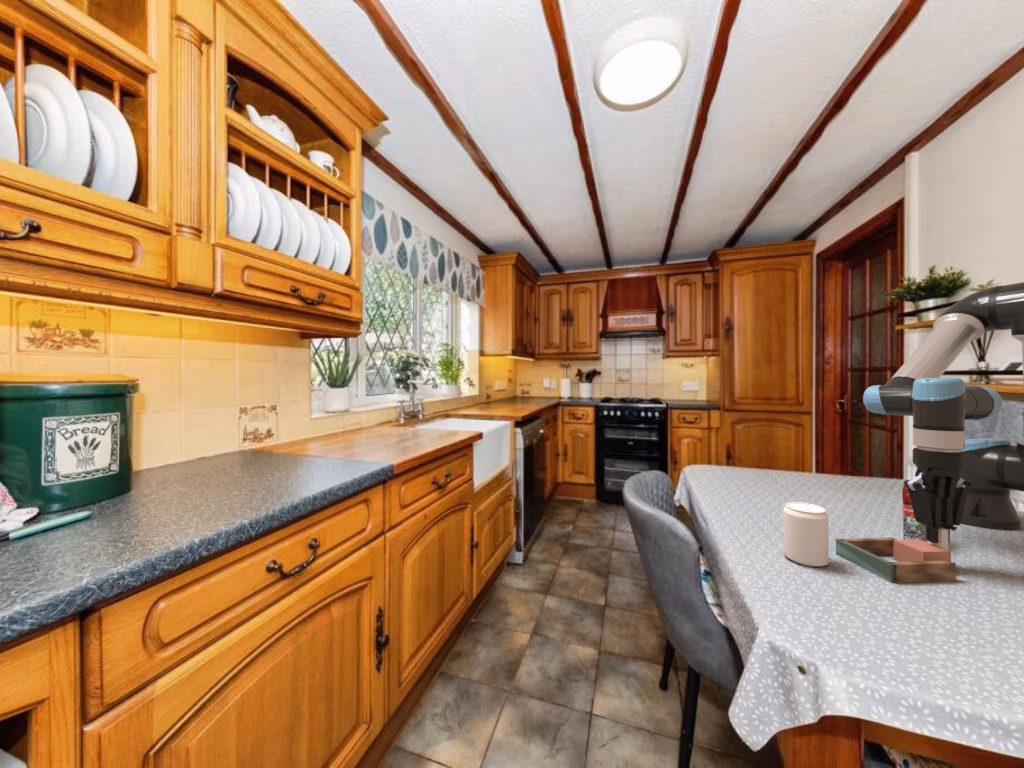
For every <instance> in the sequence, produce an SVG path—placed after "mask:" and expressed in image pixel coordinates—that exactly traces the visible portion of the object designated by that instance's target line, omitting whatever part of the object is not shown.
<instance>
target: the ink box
mask: <svg viewBox="0 0 1024 768" xmlns="http://www.w3.org/2000/svg"><path fill="white" fill-rule="evenodd" d="M901 494H902V540H910V539H920V540H923V541H925V542H928V541H927V540H926V526H925V525H924V524H921V523H918V522H916V520H915V516H914V512H913V507H912V503H911V499H910V495H909V491H908V489H907V487H906V486H905V484H904V483H903V485H902V492H901Z"/></svg>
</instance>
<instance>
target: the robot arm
mask: <svg viewBox="0 0 1024 768" xmlns="http://www.w3.org/2000/svg"><path fill="white" fill-rule="evenodd" d="M932 329H933V330H932V331H931V332H929V334H928V335H927V336H926V338H924V340H923V341H922V342H921V343H920V345H918V347H916V349H915V350H914V351H913V353H911V355H910V356H909V357H908V358H907V359H906V361H904V363H903V364H902V365H901V366H900V368H899V369H898V370H897V371H896V372H895V373H894V375H893V376H891V378H890V379H889V380H888V381H887V382H886V383H885V384H883V385H882V384H878V385H871V386H868V387H867V388H866V389H865V391H864V392H863V396H862V401H863V406H865V408H866V410H867V411H868V412H870V413H873V414H881V415H886V416H891V415H892V416H903V417H904V416H906V417H907V416H908V417H912V445H913V446H915V447H914V448H912V463H913V464H914V465H915V466H916V471H915V473H914V474H915V475H914V476H915V477H914V478H912V479H911V480H909V479H905V480H904V481H903V485H904V484H905V486H906V487H907V489H908V491H909V495H910V499H911V503H912V507H913V512H914V516H915V520H916V522H918V523H921V524H924V525H925V526H926V540H927V541H928V543H931V544H933V545H936V546H938V547H941V548H944V549H946V550H949V543H950V541H951V539H950V538H951V536H950V534H951V530H952V531H956V530H957V528H958V526H961V524H965V525H970V526H974V527H981V528H987V529H995V530H1003V531H1004V530H1005V531H1006V530H1007V531H1008V530H1009V531H1013V530H1015V531H1016V530H1019V529H1021V528H1022V527H1021V526H1022V522H1021V521H1022V520H1021V517H1020V516H1019V515H1018V512H1017V510H1016V508H1015V505H1014V504H1013V501H1012V499H1011V490H1014V491H1020V492H1024V436H1023V437H1020V438H1019V439H1017V440H1016V445H1012V442H1011V441H1010V440H1009V439H1008V438H985V437H984V438H981V437H979V438H966V437H965V436H966V435H965V434H966V432H965V431H966V430H965V421H970V420H972V421H973V420H974V421H979V420H984V419H989V418H991V417H993V416H995V415H997V414H999V412H1000V411H1001V409H1002V407H1003V403H1004V402H1003V398H1002V397H1001V395H1000V393H998V392H997V391H996V390H994V389H992V388H990V387H986V386H980V385H965V381H964V380H963V379H962V378H959V377H942V375H943V374H944V373H945V372H946V370H948V368H949V367H950V366H951V365H952V363H953V362H954V361H955V360H956V359H957V358H958V357H959V355H960V354H961V353H962V352H963V350H964V349H965V348H966V347H967V346H968V345H969V343H970V342H973V341H975V340H978V339H979V338H981V337H982V336H983V334H985V333H989V332H994V331H995V332H996V331H1006V330H1007V331H1008V330H1011V331H1010V333H1011V338H1013V339H1015V340H1017V341H1018V342H1020V343H1021V356H1022V358H1021V359H1022V379H1023V380H1022V383H1024V282H1019V283H1018V282H1017V283H1013V284H1012V283H1011V284H1005V285H996V286H991V287H987V288H984V289H981V290H978V291H976V292H973V293H971V294H969V295H968V296H965V297H963V298H962V299H960V300H959V301H957V302H955V303H954V304H952V305H951V306H949V307H948V308H947V309H946V310H944V311H943V312H942V313H941V314H940V315H939V316H938V317H937V318H936V320H935V321H933V325H932ZM956 526H957V527H956Z"/></svg>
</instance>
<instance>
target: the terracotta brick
mask: <svg viewBox="0 0 1024 768" xmlns="http://www.w3.org/2000/svg"><path fill="white" fill-rule="evenodd" d="M942 560H949V561H952V551H951V550H949V549H948V550H946V549H944V548H941V547H938V546H936V545H933V544H931V543H928V542H925V541H923V540H920V539H910V540H903V539H897V540H894V555H893V561H894V562H907V561H942Z"/></svg>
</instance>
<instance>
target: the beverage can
mask: <svg viewBox="0 0 1024 768" xmlns="http://www.w3.org/2000/svg"><path fill="white" fill-rule="evenodd" d="M782 517H783V518H782V521H783V523H782V528H783V532H782V535H783V537H782V541H783V549H782V550H783V555H784V556H785V557H787V558H788V559H790V560H791V561H792V562H795V563H797V564H799V565H802V566H808V567H814V568H815V567H818V568H819V567H823V566H827V565H828V564H829V563H830V562H829V561H830V560H829V559H830V555H829V552H830V551H829V550H830V548H829V547H830V545H829V543H830V541H829V540H830V539H829V537H830V536H829V532H830V531H829V529H830V528H829V521H830V520H829V515H828V514H827V512H826V509H825V507H822V506H820V505H816V504H812V503H809V502H808V503H807V502H802V501H800V502H798V501H790V502H786V503H785V506H784V507H783V509H782Z"/></svg>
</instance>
